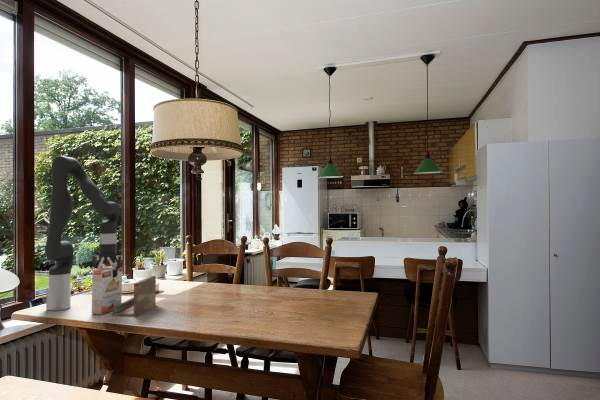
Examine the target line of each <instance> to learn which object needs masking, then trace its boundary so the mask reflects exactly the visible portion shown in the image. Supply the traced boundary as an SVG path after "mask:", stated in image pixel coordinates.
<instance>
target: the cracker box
mask: <svg viewBox="0 0 600 400" xmlns="http://www.w3.org/2000/svg"><path fill="white" fill-rule="evenodd" d="M113 270H114V269H113V267H112V266H111V265H109V266H105V267H104V266H103V268H99V269H96V268H93V269H92V278H91V279H92V280H91V281H92V283H91V284H92V286H91V314H92V315H101V316H102V315H104V314H106V313H109V312H113V307H115V306H117V305H119V304H121V303H122V297H123V294H122V293H123V291H122V290H123V289H122V288H123V267H122V268H119V269H118V275H117V277H115V278H113Z"/></svg>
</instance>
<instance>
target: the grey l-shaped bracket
mask: <svg viewBox="0 0 600 400" xmlns="http://www.w3.org/2000/svg"><path fill="white" fill-rule="evenodd" d="M156 279H157V277H156V275H151V276H150V275H149V276H148V277H145V278H143V279H141V280H139V281H137V282H135V283H133V297H130V298H129V299H127V300H125V301H123V302H121V304H119V305H117V306H115V307H113V310H112V314H111V316H112V317H139V316H141V315H143V314H144V313H146V312H147V311H148V310H150V309H153V307H155V306H156V301H157V299H156V297H157V296H156V295H157V293H156V290H157V289H156V287H157V283H156V281H157V280H156Z"/></svg>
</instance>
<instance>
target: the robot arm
mask: <svg viewBox="0 0 600 400" xmlns="http://www.w3.org/2000/svg"><path fill="white" fill-rule="evenodd" d="M67 176H70V177H72V178H73V179H74V180H75V181H77V183H78V185H79V187H80V188H79V189H80V190H81V192H82V194H83V195H84V196H85V198H86V199H87V200H89V201H90V203H91V204H92V207H93V209H94V210H95V212H96V213H97V214H98V215H100V216H102V217H105V219H104V220H103V221H102V222H100V223H99V238H98V239H99V241H98V244H99V249H98V252H99V255H94V256H92V264H93V265H92V266H93V269H99V268H104V266H105V265H106V264H107V265H110V266H112V267H113V269H114V270H113V278H115V277H117V275H118V269H119V268H122V269H123V261H124V255H118V254H117V252H118V251H117V250H118V249H117V247H118V243H117V242H118V240H117V239H118V238H117V236H118V235H117V224H118V220H119V216H120V211H121V210H120V206H119V204H118V203H117V202H116V201H106V195H105V193H104V192H103V191H102V190H101V189H100V188H99V187H98V186H97V185H96V183H94V180H92V179H91V177H90V176H89V175H88V173H87V172H86V171H85V169H84V168H83V166H82V164H81V163H80V161H78V160H77V159H76V158H75V157H71V156H70V157H68V156H64V155H57V156H55V157H54V158H53V160H52V163H51V200H50V208H49V224H48V232H47V237H46V241H45V246H44V254H45V257H46V259H47V260H48V261H51V262H55V261H56V263H55V264H54V265H53V266H51V267H50V268H49V269H48V289H47V290H46V298H45V299H46V303H45V304H46V306H45V310H46V311H54V312H55V311H57V312H58V311H62V310H67V309H70V308H71V301H72V300H71V299H72V298H71V293H72V292H71V291H72V290H71V289H72V287H71V286H72V283H71V282H72V276H71V275H72V269H73V265H74V252H75V251H74V245H73V244H72V242H71V241H69V240H62V236H63V232H64V229H65V228H66V226H67V224H68V223H69V222H70V220H71V218H72V216H73V207H74V205H73V204H74V201H73V197H72V196H71V193H70V191H69V189H68V186H67V185H68V184H67V182H68V181H67V179H68V178H67ZM99 260H100V261H99ZM116 260H117V261H116Z"/></svg>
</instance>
